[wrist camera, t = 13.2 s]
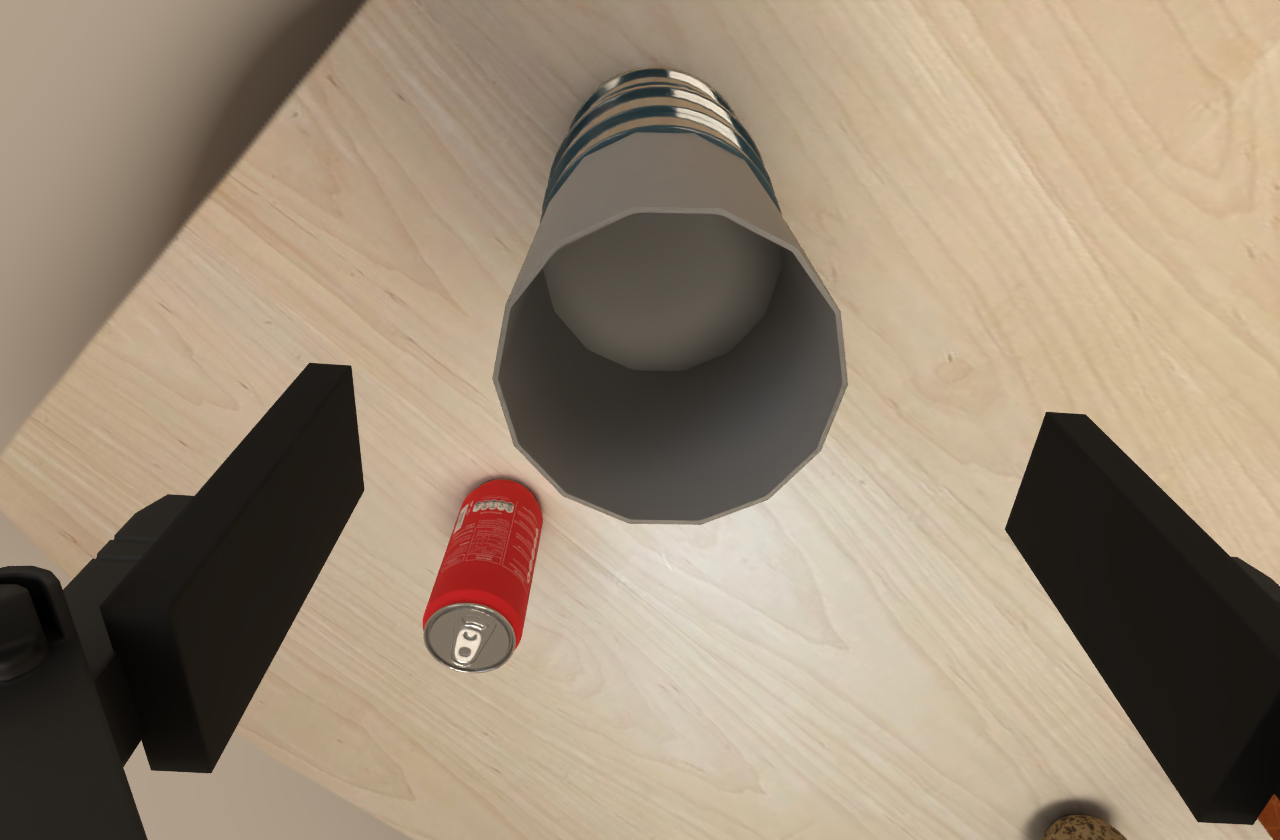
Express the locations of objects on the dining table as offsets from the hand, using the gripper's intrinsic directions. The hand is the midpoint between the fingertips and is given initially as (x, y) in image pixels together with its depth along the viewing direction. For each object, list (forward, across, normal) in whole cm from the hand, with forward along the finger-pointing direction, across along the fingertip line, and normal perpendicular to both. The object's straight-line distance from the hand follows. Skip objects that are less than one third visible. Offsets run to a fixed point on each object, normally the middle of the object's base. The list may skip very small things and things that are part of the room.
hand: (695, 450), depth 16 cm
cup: (+14, 0, 0) cm, 14 cm away
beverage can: (+30, -8, -23) cm, 38 cm away
